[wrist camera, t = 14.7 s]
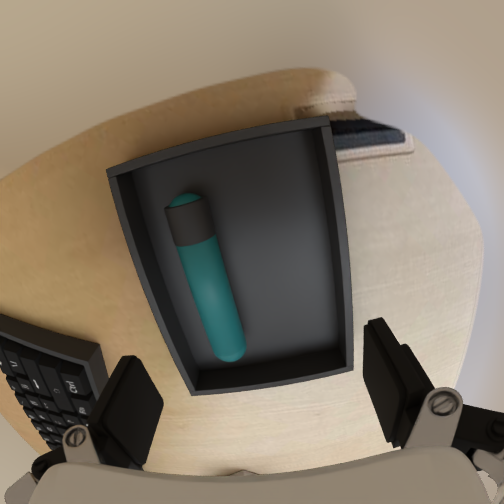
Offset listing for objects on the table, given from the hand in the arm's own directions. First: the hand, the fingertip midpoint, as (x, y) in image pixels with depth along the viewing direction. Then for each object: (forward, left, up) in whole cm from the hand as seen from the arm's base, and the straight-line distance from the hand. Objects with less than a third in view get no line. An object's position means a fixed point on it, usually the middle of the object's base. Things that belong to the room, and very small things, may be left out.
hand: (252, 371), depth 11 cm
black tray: (0, 0, -10) cm, 10 cm away
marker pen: (+2, 0, -8) cm, 8 cm away
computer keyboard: (+24, +30, -11) cm, 40 cm away
